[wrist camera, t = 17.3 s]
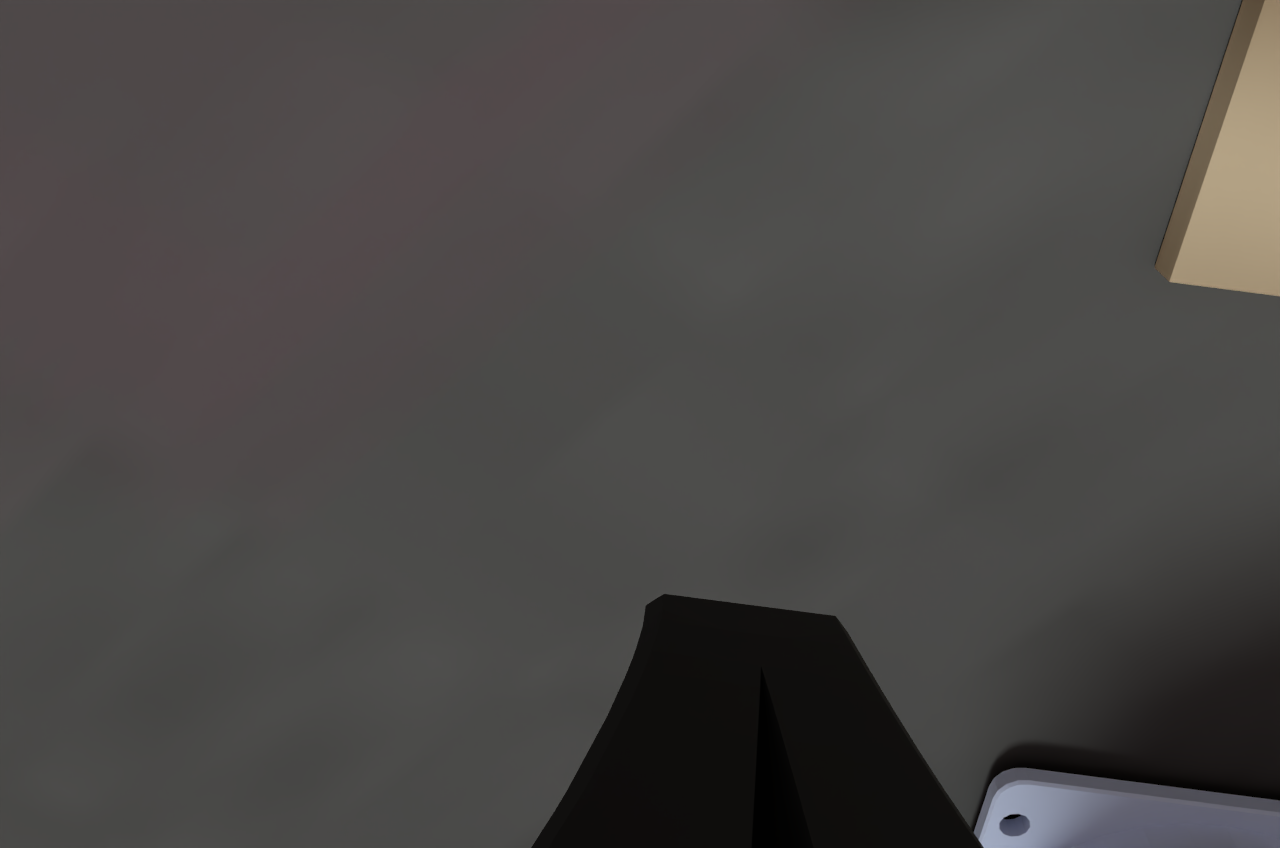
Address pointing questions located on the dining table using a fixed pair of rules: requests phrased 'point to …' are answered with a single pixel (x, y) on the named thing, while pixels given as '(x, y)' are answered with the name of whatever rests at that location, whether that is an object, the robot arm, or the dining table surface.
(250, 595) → the dining table surface
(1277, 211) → the oak board
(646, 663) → the robot arm
